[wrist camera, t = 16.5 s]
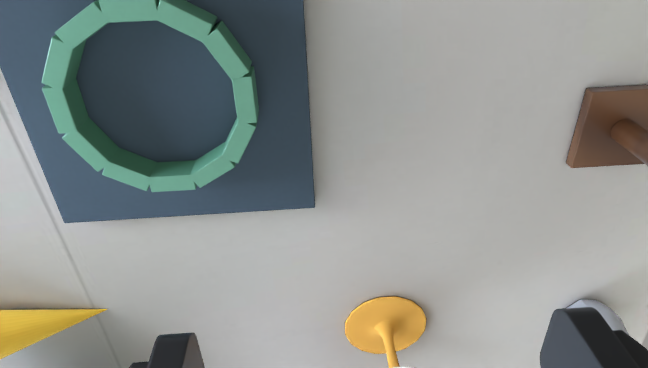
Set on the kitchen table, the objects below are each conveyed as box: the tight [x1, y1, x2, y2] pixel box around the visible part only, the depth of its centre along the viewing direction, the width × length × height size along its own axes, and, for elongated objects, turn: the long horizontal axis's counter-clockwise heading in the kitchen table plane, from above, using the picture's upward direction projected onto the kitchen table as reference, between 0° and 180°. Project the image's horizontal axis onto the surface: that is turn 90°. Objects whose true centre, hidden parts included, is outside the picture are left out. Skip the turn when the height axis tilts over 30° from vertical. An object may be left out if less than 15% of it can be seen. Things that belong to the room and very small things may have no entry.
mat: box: [0, 0, 315, 223], centre depth 36 cm, size 22×22×1 cm
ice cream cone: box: [0, 309, 107, 359], centre depth 46 cm, size 6×6×20 cm
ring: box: [42, 0, 259, 192], centre depth 34 cm, size 14×14×2 cm
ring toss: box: [566, 85, 648, 168], centre depth 37 cm, size 7×7×8 cm
